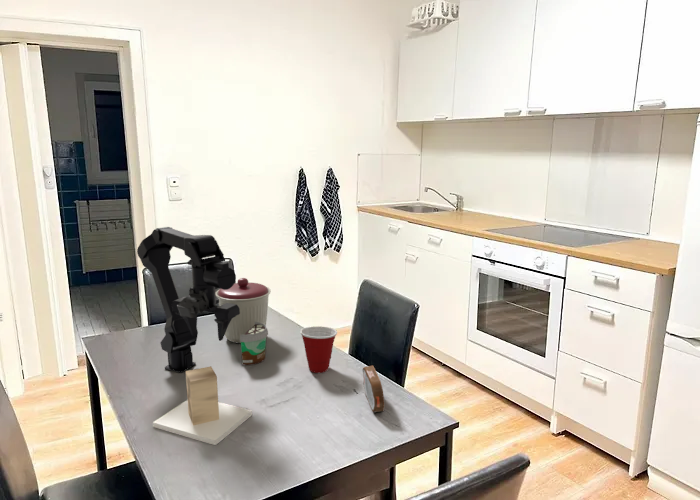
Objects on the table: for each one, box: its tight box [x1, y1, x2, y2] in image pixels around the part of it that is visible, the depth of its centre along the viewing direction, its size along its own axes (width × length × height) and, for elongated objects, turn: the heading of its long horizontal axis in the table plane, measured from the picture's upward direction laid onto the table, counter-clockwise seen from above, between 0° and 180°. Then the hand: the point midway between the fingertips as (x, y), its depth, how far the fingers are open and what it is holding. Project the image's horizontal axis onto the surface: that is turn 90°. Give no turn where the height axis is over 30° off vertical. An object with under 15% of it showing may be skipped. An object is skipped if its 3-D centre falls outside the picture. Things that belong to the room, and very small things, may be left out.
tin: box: [362, 365, 385, 413], centre depth 130 cm, size 15×3×8 cm, turn 9°
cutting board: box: [152, 399, 253, 446], centre depth 122 cm, size 18×14×1 cm
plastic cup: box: [299, 325, 338, 374], centre depth 149 cm, size 11×11×12 cm
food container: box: [240, 322, 269, 366], centre depth 155 cm, size 12×6×10 cm, turn 168°
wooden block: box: [185, 366, 219, 425], centre depth 121 cm, size 6×6×11 cm
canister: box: [215, 277, 271, 344], centre depth 171 cm, size 18×18×21 cm
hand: (207, 337), depth 139 cm, fingers open, 9 cm apart
